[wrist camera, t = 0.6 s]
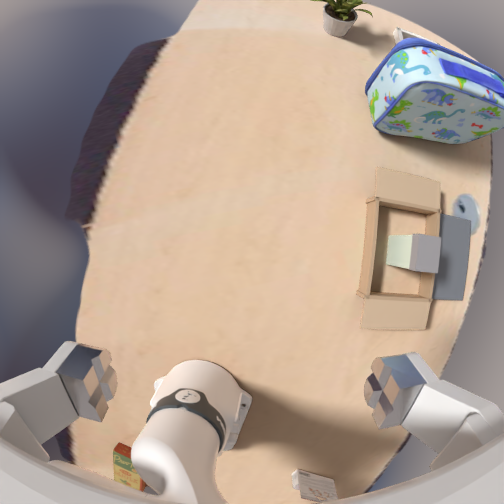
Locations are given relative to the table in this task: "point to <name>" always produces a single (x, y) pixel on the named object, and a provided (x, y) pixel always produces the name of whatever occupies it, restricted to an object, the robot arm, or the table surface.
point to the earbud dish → (406, 35)
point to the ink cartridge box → (314, 486)
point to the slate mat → (452, 258)
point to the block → (414, 252)
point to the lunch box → (435, 94)
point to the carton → (126, 468)
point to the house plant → (340, 16)
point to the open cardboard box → (376, 303)
